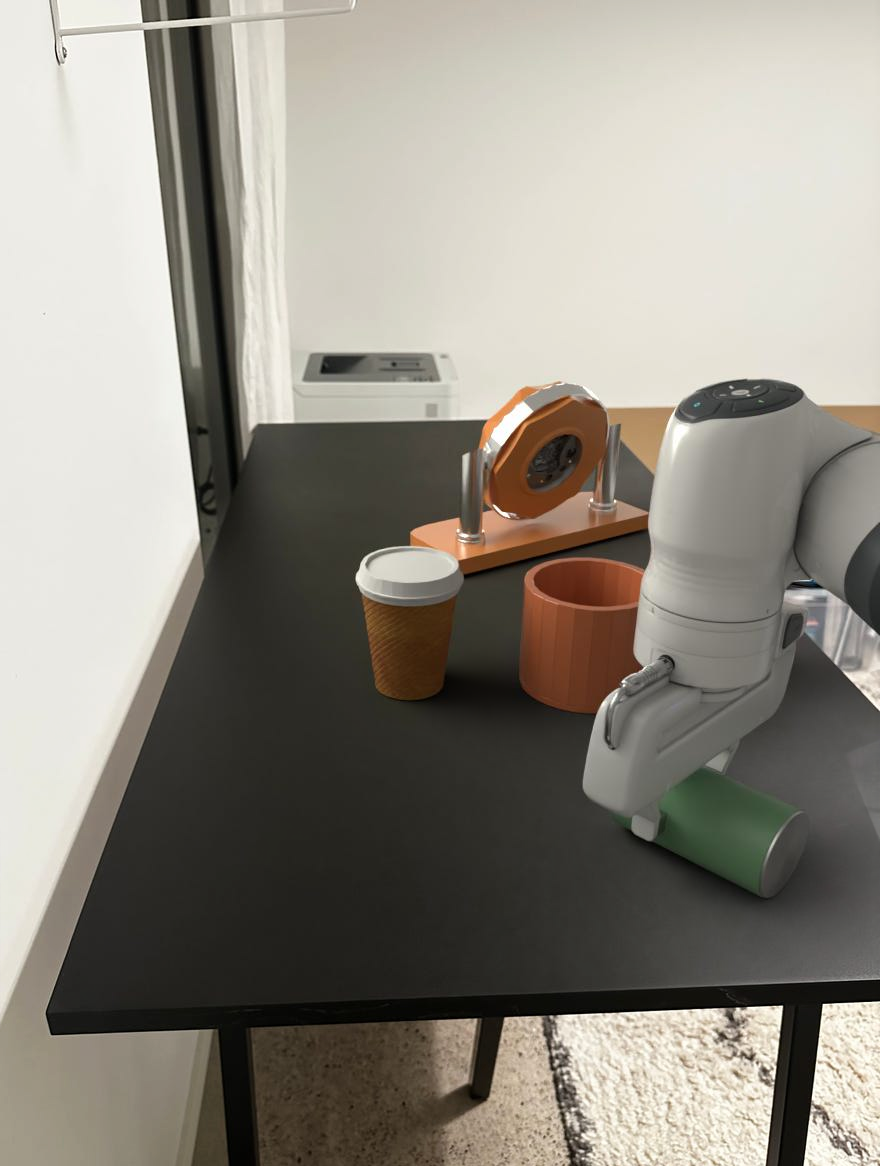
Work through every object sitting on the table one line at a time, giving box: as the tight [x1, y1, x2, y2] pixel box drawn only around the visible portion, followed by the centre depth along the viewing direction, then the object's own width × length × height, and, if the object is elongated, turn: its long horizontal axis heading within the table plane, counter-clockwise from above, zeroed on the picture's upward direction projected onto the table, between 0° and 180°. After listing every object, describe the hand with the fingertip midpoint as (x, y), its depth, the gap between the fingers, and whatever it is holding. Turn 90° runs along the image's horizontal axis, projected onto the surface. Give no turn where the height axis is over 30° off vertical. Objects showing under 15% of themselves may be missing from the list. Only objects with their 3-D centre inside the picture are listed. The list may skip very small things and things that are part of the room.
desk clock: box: [409, 380, 649, 576], centre depth 126 cm, size 12×30×20 cm, turn 123°
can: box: [607, 766, 810, 899], centre depth 72 cm, size 12×6×6 cm, turn 45°
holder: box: [518, 557, 646, 714], centre depth 95 cm, size 12×12×10 cm
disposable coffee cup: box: [355, 545, 465, 701], centre depth 94 cm, size 10×10×12 cm
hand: (678, 810), depth 74 cm, fingers closed on can, 6 cm apart
